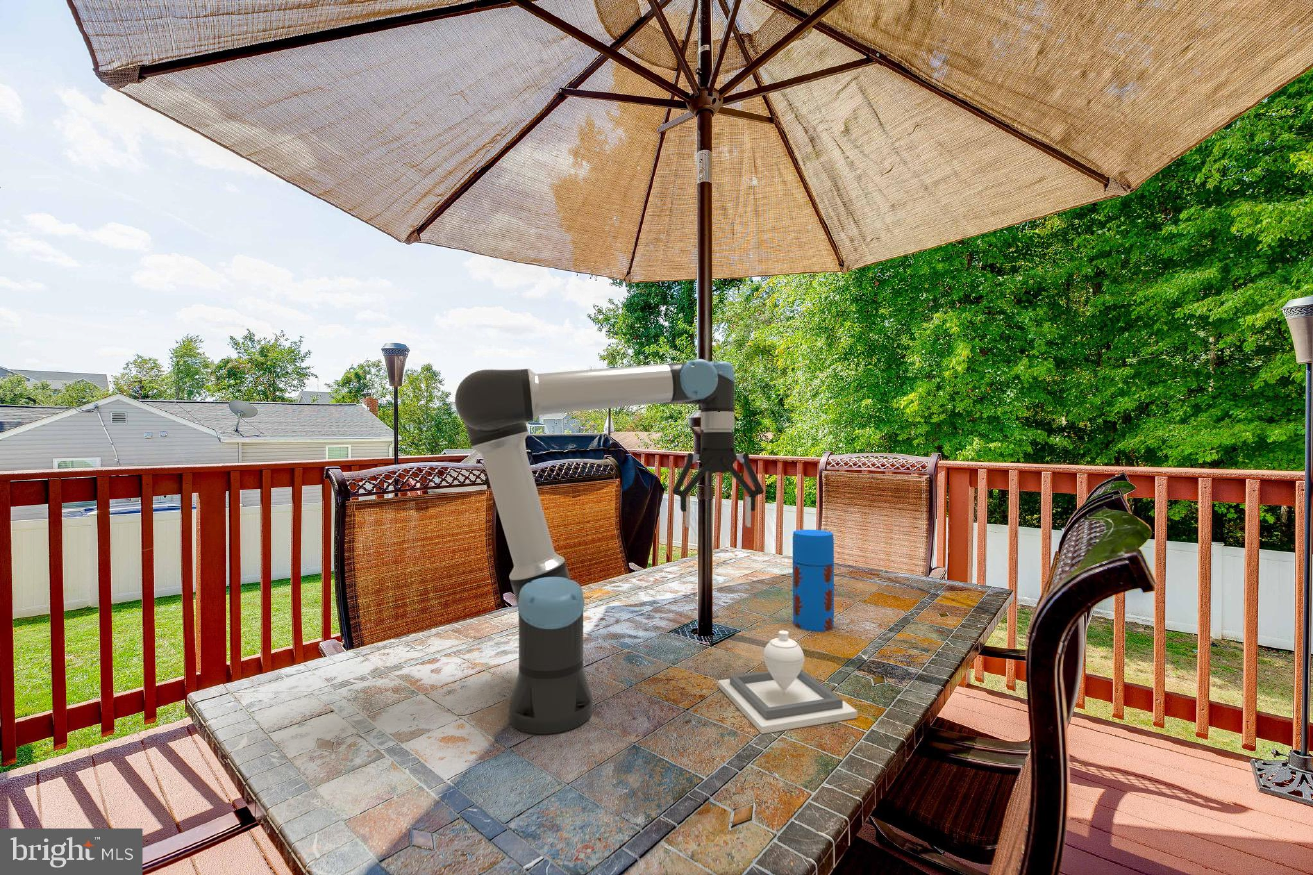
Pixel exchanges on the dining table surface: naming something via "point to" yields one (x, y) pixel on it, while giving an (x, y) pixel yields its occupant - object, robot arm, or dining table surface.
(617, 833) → the dining table surface
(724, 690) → the dock plate
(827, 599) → the thermos
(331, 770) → the dining table surface
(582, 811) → the dining table surface
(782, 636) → the spinning top
